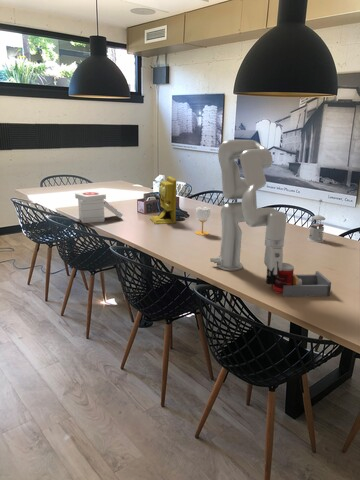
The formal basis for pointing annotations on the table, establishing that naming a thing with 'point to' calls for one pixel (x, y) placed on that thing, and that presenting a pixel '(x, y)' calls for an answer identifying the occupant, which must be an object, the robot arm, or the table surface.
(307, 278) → the frame
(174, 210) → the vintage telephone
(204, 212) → the cup
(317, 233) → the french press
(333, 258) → the table surface
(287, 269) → the canned food
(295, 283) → the pusher
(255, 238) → the table surface
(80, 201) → the pizza boxes
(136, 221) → the table surface
